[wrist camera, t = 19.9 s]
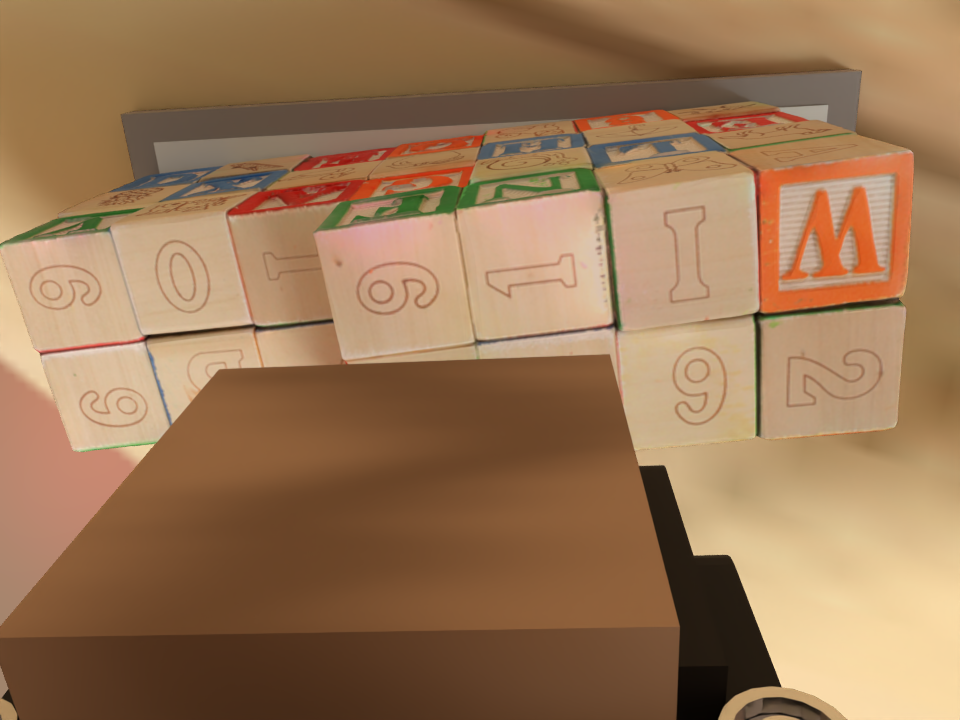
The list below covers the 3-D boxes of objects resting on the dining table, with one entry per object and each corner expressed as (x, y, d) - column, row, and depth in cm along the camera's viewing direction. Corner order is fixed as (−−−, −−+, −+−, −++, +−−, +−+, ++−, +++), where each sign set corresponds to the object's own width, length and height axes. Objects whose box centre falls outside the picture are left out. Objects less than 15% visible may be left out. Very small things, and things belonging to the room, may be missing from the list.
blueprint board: (850, 69, 28) (862, 71, 27) (822, 345, 32) (831, 356, 31) (133, 111, 30) (119, 114, 29) (187, 368, 34) (176, 379, 33)
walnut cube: (610, 353, 12) (680, 625, 6) (610, 666, 14) (663, 1059, 9) (218, 369, 12) (-10, 638, 7) (278, 671, 14) (138, 1050, 9)
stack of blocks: (190, 336, 32) (3, 514, 20) (144, 172, 30) (-95, 270, 18) (761, 276, 30) (907, 437, 18) (761, 94, 27) (927, 150, 16)
